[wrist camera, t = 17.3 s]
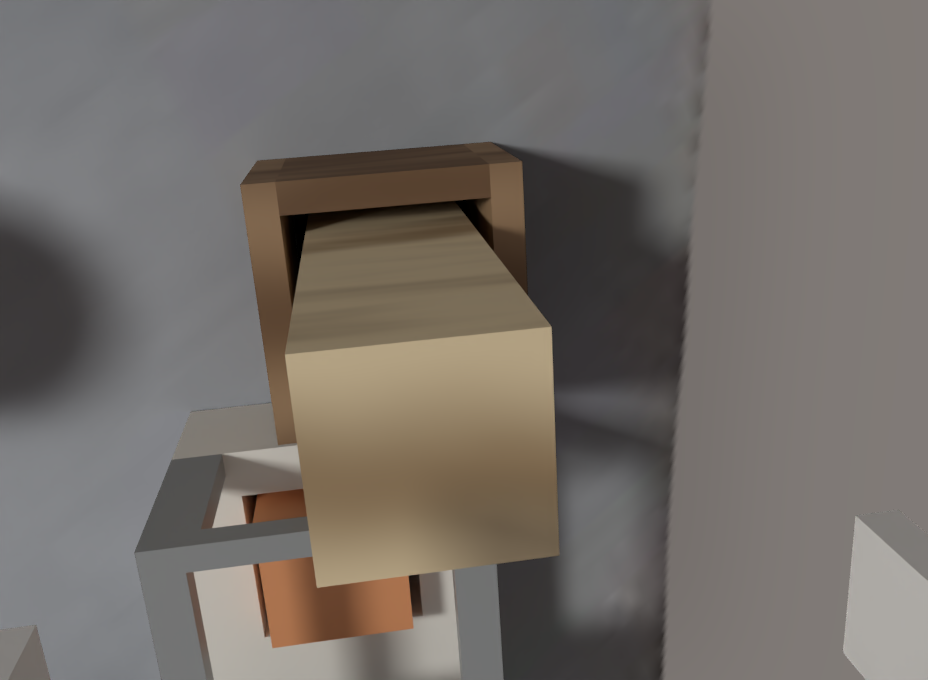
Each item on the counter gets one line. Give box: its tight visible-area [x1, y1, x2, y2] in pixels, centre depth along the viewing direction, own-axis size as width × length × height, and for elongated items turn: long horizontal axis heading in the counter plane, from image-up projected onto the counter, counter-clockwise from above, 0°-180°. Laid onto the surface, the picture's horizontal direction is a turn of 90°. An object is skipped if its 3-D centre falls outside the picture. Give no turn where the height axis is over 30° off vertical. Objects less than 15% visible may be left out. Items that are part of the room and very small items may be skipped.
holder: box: [240, 142, 528, 445], centre depth 36 cm, size 10×10×7 cm
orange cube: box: [253, 489, 414, 648], centre depth 40 cm, size 6×6×6 cm
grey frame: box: [134, 403, 504, 680], centre depth 39 cm, size 20×12×12 cm, turn 4°
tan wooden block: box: [285, 201, 559, 588], centre depth 30 cm, size 6×6×20 cm
